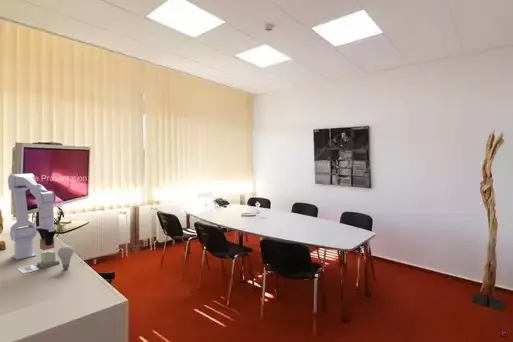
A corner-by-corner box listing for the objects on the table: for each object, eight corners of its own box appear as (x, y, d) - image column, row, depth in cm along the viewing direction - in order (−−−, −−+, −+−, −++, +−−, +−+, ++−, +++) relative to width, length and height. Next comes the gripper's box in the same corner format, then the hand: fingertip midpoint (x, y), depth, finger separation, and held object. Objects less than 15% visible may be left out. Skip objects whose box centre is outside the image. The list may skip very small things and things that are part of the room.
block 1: (40, 248, 137) (39, 239, 137) (51, 246, 141) (50, 237, 140) (43, 250, 134) (42, 240, 134) (54, 247, 138) (53, 238, 138)
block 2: (41, 261, 137) (41, 252, 137) (52, 258, 141) (51, 250, 141) (44, 263, 135) (44, 254, 134) (55, 260, 138) (55, 251, 138)
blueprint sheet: (16, 268, 132) (16, 268, 132) (32, 264, 137) (32, 264, 137) (22, 273, 126) (22, 273, 126) (39, 269, 131) (39, 269, 131)
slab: (37, 264, 137) (37, 261, 137) (54, 260, 143) (54, 257, 143) (42, 268, 133) (42, 264, 133) (59, 263, 138) (59, 260, 138)
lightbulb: (66, 271, 128) (65, 248, 128) (54, 270, 129) (54, 247, 129) (77, 266, 134) (76, 244, 134) (66, 266, 135) (65, 243, 135)
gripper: (31, 216, 138) (32, 243, 139) (41, 219, 129) (42, 248, 130) (48, 213, 144) (49, 240, 144) (58, 217, 135) (59, 245, 135)
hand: (47, 244), depth 137 cm, fingers closed on block 1, 4 cm apart
